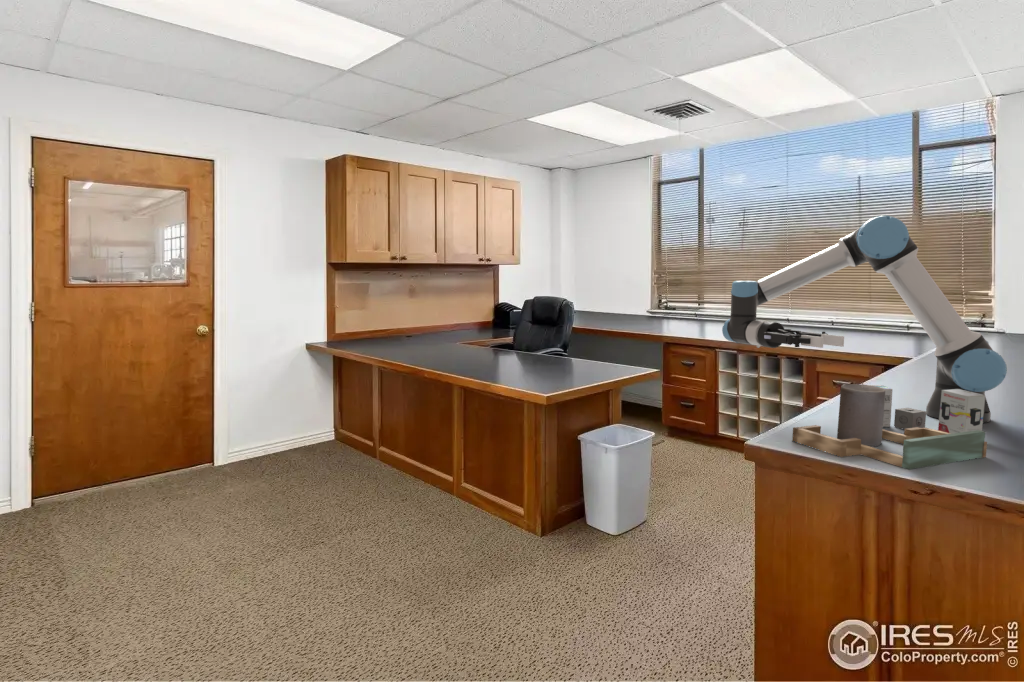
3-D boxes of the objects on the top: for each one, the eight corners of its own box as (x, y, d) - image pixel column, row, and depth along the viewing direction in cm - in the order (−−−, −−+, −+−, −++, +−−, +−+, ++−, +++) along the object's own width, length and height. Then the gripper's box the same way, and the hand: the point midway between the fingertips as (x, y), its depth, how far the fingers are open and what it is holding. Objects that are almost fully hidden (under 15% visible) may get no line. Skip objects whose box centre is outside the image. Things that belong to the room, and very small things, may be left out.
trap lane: (792, 441, 148) (793, 417, 148) (881, 430, 159) (883, 408, 159) (888, 472, 125) (890, 444, 124) (985, 457, 136) (988, 431, 135)
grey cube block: (894, 427, 163) (895, 409, 163) (906, 425, 165) (908, 407, 165) (911, 431, 159) (913, 412, 158) (924, 429, 160) (926, 411, 160)
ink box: (936, 433, 157) (940, 388, 156) (953, 432, 157) (957, 388, 156) (963, 441, 148) (967, 395, 147) (982, 441, 149) (986, 394, 147)
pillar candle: (829, 436, 153) (833, 378, 152) (868, 436, 153) (872, 378, 151) (849, 447, 144) (853, 386, 142) (890, 447, 143) (895, 386, 142)
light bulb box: (878, 421, 169) (881, 384, 168) (891, 427, 163) (894, 388, 161) (839, 420, 170) (841, 383, 169) (850, 426, 164) (852, 387, 162)
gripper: (790, 345, 180) (859, 354, 158) (739, 348, 173) (803, 358, 151) (792, 320, 179) (860, 326, 157) (740, 322, 172) (804, 328, 151)
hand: (832, 341), depth 154 cm, fingers open, 6 cm apart
